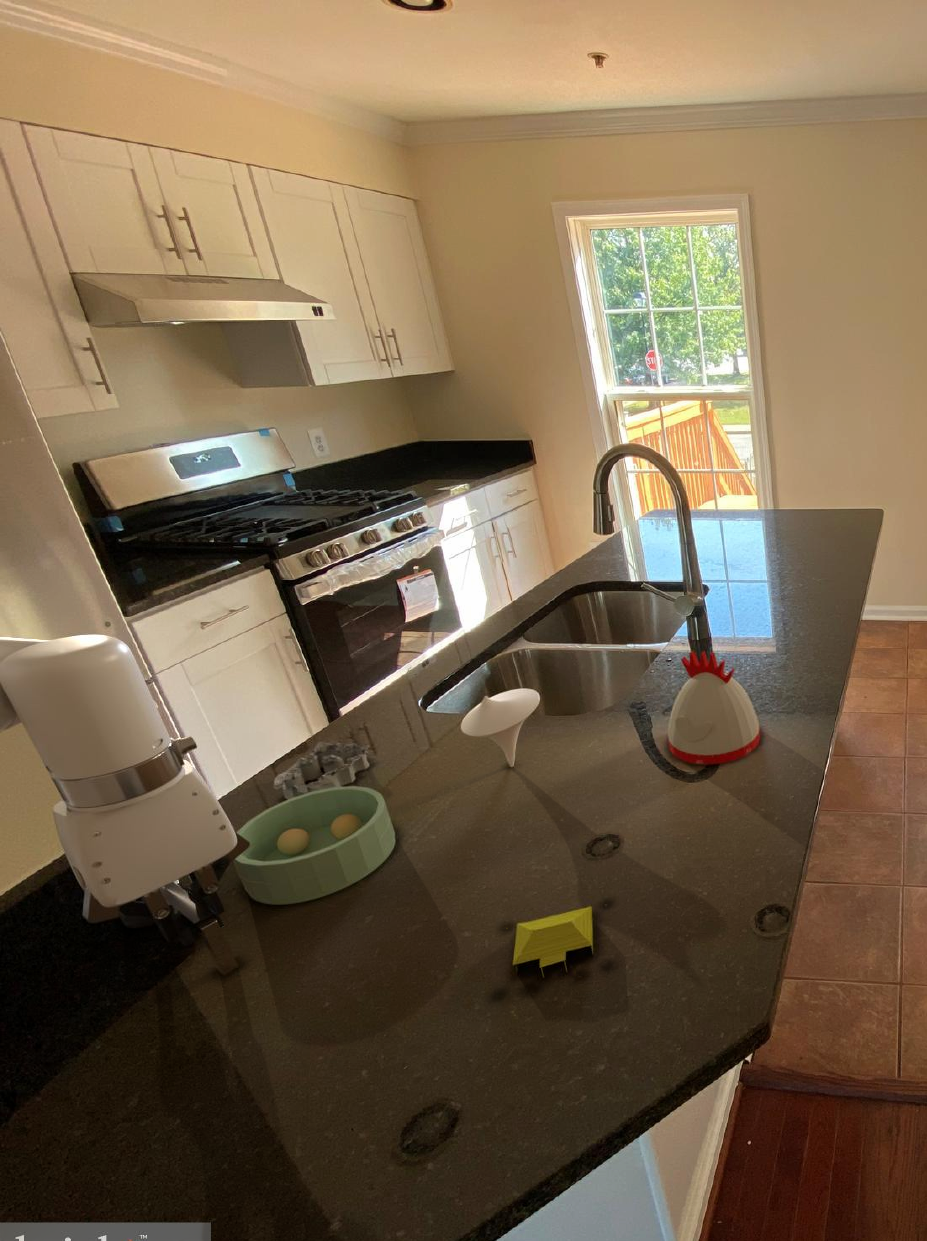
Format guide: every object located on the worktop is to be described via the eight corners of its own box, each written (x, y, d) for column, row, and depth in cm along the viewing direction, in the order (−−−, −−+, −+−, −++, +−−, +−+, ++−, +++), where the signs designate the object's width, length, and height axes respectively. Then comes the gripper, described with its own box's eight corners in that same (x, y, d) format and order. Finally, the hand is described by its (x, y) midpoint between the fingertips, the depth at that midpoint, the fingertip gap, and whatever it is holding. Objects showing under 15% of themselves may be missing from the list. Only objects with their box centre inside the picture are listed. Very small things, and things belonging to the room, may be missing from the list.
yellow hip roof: (606, 905, 76) (603, 885, 75) (609, 970, 68) (605, 948, 67) (506, 929, 73) (501, 908, 72) (497, 1000, 65) (491, 978, 64)
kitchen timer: (696, 713, 116) (688, 630, 110) (773, 725, 113) (769, 640, 107) (651, 756, 104) (640, 665, 98) (736, 771, 100) (729, 678, 94)
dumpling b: (329, 839, 85) (322, 819, 84) (355, 826, 87) (348, 806, 86) (343, 847, 83) (336, 827, 82) (369, 833, 86) (362, 813, 85)
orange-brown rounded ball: (276, 854, 82) (268, 834, 81) (304, 840, 85) (297, 820, 83) (289, 863, 81) (281, 842, 80) (318, 848, 83) (310, 827, 82)
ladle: (115, 917, 74) (88, 867, 71) (175, 888, 78) (151, 840, 75) (199, 990, 66) (172, 937, 63) (261, 953, 70) (238, 902, 67)
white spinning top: (482, 796, 94) (462, 719, 89) (465, 761, 102) (447, 689, 97) (561, 770, 100) (547, 697, 95) (540, 739, 108) (526, 670, 103)
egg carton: (331, 805, 92) (321, 779, 90) (273, 805, 92) (262, 779, 90) (379, 760, 102) (372, 736, 100) (327, 760, 102) (318, 736, 100)
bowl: (220, 876, 79) (203, 838, 77) (354, 809, 91) (342, 774, 89) (287, 922, 73) (270, 882, 71) (421, 844, 85) (410, 807, 83)
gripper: (210, 724, 69) (271, 869, 76) (-28, 809, 56) (72, 974, 64) (248, 743, 66) (308, 893, 73) (5, 838, 53) (106, 1008, 60)
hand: (198, 930), depth 68 cm, fingers closed on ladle
